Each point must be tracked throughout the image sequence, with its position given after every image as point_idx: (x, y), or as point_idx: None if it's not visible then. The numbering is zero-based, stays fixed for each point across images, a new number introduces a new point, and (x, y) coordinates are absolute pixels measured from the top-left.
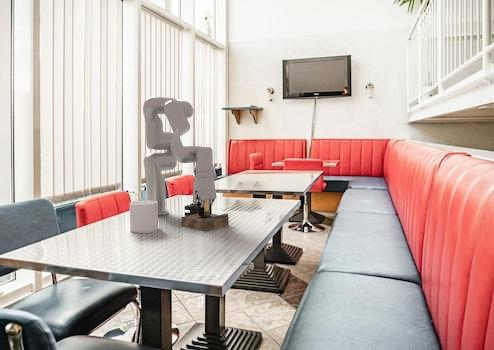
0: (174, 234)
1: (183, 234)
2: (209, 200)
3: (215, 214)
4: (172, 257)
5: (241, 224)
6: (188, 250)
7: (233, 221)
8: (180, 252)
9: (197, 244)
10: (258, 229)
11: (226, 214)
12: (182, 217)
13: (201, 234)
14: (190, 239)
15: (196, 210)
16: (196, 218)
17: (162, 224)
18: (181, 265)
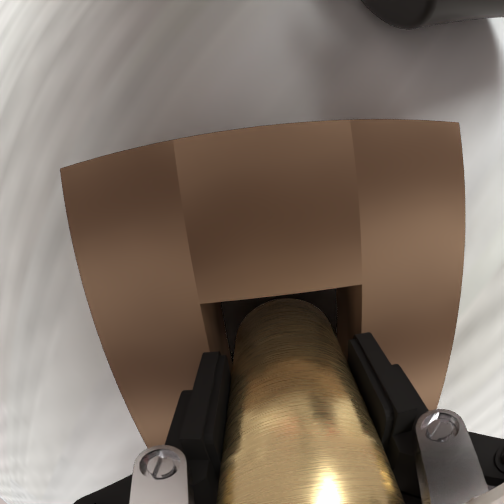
0: (5, 343)
1: (41, 381)
2: (482, 476)
3: (452, 331)
4: (3, 474)
5: None
6: (36, 485)
7: (499, 334)
8: (18, 476)
9: (68, 486)
10: None
11: None
12: (64, 190)
13: (123, 446)
14: (56, 448)
15: (426, 9)
16: (158, 361)
17: (47, 34)
18: (19, 500)
